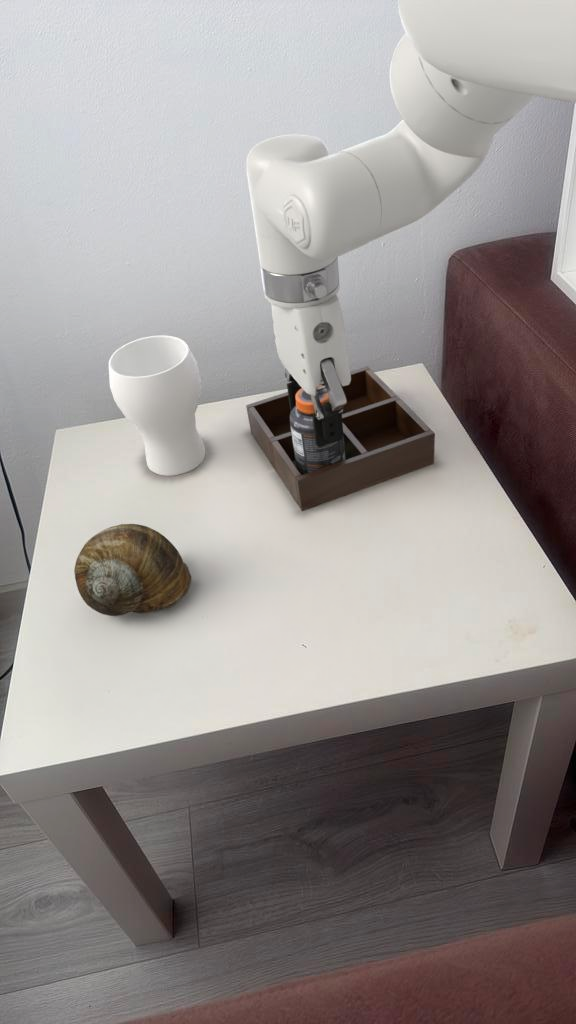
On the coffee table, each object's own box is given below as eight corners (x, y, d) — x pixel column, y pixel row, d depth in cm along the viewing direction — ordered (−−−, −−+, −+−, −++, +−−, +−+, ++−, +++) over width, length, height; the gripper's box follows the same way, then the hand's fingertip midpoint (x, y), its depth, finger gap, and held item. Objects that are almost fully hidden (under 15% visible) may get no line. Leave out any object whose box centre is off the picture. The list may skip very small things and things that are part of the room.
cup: (179, 423, 101) (153, 324, 91) (233, 449, 95) (212, 347, 85) (119, 464, 96) (85, 364, 86) (173, 494, 90) (143, 390, 80)
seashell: (80, 633, 75) (55, 581, 70) (93, 567, 82) (70, 515, 77) (190, 620, 75) (172, 566, 69) (193, 555, 82) (177, 501, 76)
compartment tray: (434, 463, 89) (435, 433, 86) (301, 511, 85) (297, 481, 82) (369, 394, 101) (367, 365, 98) (251, 433, 97) (245, 405, 94)
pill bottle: (353, 461, 89) (348, 382, 82) (336, 492, 86) (328, 412, 78) (308, 453, 92) (299, 375, 84) (289, 483, 88) (277, 404, 80)
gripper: (375, 300, 67) (381, 455, 79) (301, 238, 79) (316, 380, 91) (299, 323, 65) (316, 478, 77) (235, 256, 78) (259, 398, 89)
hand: (316, 424), depth 84 cm, fingers open, 6 cm apart
